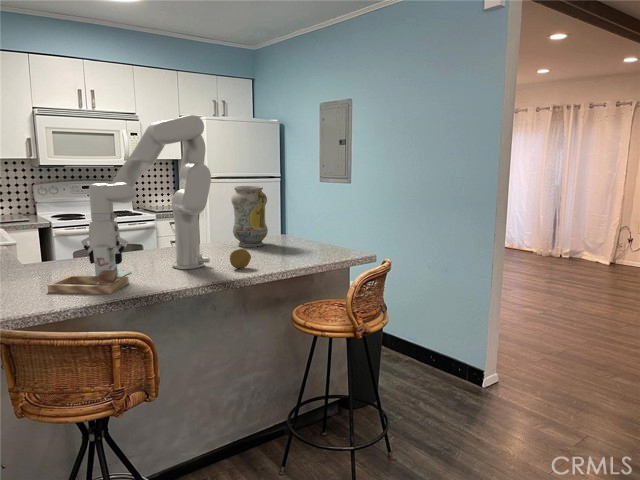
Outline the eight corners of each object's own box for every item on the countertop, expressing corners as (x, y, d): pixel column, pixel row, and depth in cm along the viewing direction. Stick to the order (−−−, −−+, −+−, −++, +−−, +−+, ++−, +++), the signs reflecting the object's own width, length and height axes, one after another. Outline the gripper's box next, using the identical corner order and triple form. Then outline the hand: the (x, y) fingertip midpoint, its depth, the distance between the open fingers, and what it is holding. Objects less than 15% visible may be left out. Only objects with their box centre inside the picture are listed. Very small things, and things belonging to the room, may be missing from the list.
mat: (131, 272, 180) (131, 271, 180) (113, 282, 166) (112, 280, 166) (101, 271, 181) (101, 270, 180) (80, 281, 167) (80, 280, 167)
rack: (128, 283, 164) (128, 276, 164) (110, 294, 151) (109, 286, 151) (71, 282, 165) (70, 275, 165) (48, 292, 153) (47, 285, 152)
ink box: (104, 272, 177) (102, 242, 175) (118, 272, 178) (116, 242, 176) (94, 278, 169) (92, 246, 167) (108, 278, 169) (106, 246, 167)
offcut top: (116, 278, 161) (116, 269, 160) (113, 282, 155) (112, 274, 155) (103, 279, 160) (102, 270, 159) (99, 283, 154) (98, 274, 154)
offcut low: (121, 286, 161) (121, 278, 161) (111, 292, 155) (110, 283, 154) (107, 286, 162) (107, 277, 161) (96, 291, 155) (96, 283, 154)
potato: (227, 269, 186) (226, 250, 184) (237, 265, 193) (236, 246, 191) (242, 271, 183) (242, 251, 182) (252, 267, 190) (251, 248, 189)
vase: (251, 249, 226) (250, 188, 221) (225, 245, 236) (223, 186, 231) (274, 244, 241) (274, 186, 236) (248, 240, 251) (247, 185, 246)
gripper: (130, 216, 173) (133, 261, 175) (85, 215, 174) (89, 260, 177) (120, 219, 165) (123, 266, 168) (73, 218, 166) (77, 264, 169)
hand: (106, 263), depth 172 cm, fingers open, 9 cm apart
